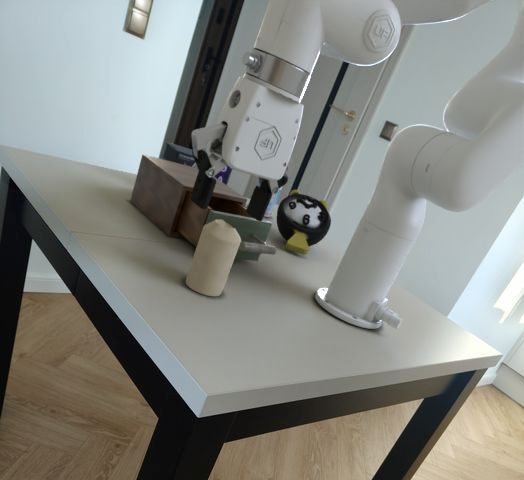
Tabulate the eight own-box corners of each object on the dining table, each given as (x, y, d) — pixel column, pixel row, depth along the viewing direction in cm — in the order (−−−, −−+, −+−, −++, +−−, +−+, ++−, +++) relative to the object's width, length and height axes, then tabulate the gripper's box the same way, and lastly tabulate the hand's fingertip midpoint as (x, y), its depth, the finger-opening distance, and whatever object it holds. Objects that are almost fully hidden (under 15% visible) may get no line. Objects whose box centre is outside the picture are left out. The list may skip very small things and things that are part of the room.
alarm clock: (257, 252, 114) (262, 183, 112) (299, 258, 124) (304, 195, 122) (297, 253, 105) (303, 178, 104) (338, 259, 116) (345, 192, 114)
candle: (228, 296, 75) (252, 233, 70) (201, 297, 70) (225, 230, 66) (205, 278, 77) (226, 216, 73) (177, 278, 73) (198, 213, 69)
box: (163, 199, 108) (177, 150, 103) (152, 188, 112) (165, 140, 108) (206, 208, 114) (221, 163, 110) (193, 198, 119) (207, 153, 114)
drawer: (278, 277, 88) (294, 238, 85) (220, 272, 79) (235, 229, 76) (215, 227, 100) (227, 192, 97) (158, 218, 91) (169, 179, 88)
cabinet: (231, 244, 98) (247, 199, 94) (168, 236, 88) (184, 185, 84) (190, 212, 107) (204, 169, 103) (130, 201, 97) (142, 154, 93)
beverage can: (197, 190, 127) (212, 141, 122) (217, 195, 130) (232, 149, 125) (204, 197, 123) (220, 148, 118) (224, 203, 126) (241, 155, 121)
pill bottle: (257, 208, 135) (272, 167, 130) (274, 218, 133) (291, 176, 128) (244, 207, 130) (259, 164, 125) (262, 217, 128) (278, 174, 123)
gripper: (239, 58, 53) (188, 212, 60) (340, 109, 65) (287, 232, 72) (203, 43, 58) (159, 188, 65) (303, 93, 70) (257, 210, 77)
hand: (227, 211), depth 69 cm, fingers open, 9 cm apart
